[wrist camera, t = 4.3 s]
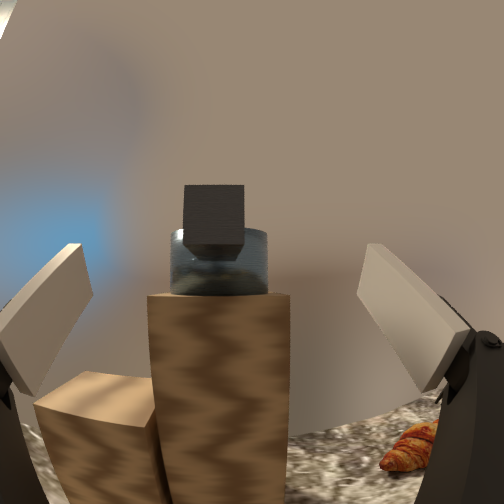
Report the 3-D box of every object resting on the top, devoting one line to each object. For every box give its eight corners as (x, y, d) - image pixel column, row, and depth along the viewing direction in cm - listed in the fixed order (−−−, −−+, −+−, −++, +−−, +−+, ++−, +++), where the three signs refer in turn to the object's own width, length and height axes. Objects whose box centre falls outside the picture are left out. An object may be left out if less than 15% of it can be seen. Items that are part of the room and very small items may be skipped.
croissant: (445, 441, 36) (440, 408, 41) (482, 434, 28) (477, 397, 33) (366, 482, 31) (361, 442, 36) (405, 487, 23) (400, 440, 28)
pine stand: (76, 515, 17) (19, 258, 20) (106, 466, 31) (79, 266, 34) (283, 536, 20) (292, 258, 23) (266, 476, 33) (266, 267, 37)
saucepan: (115, 304, 13) (120, 187, 13) (178, 292, 33) (178, 242, 34) (315, 304, 14) (311, 187, 14) (261, 291, 34) (260, 242, 35)
